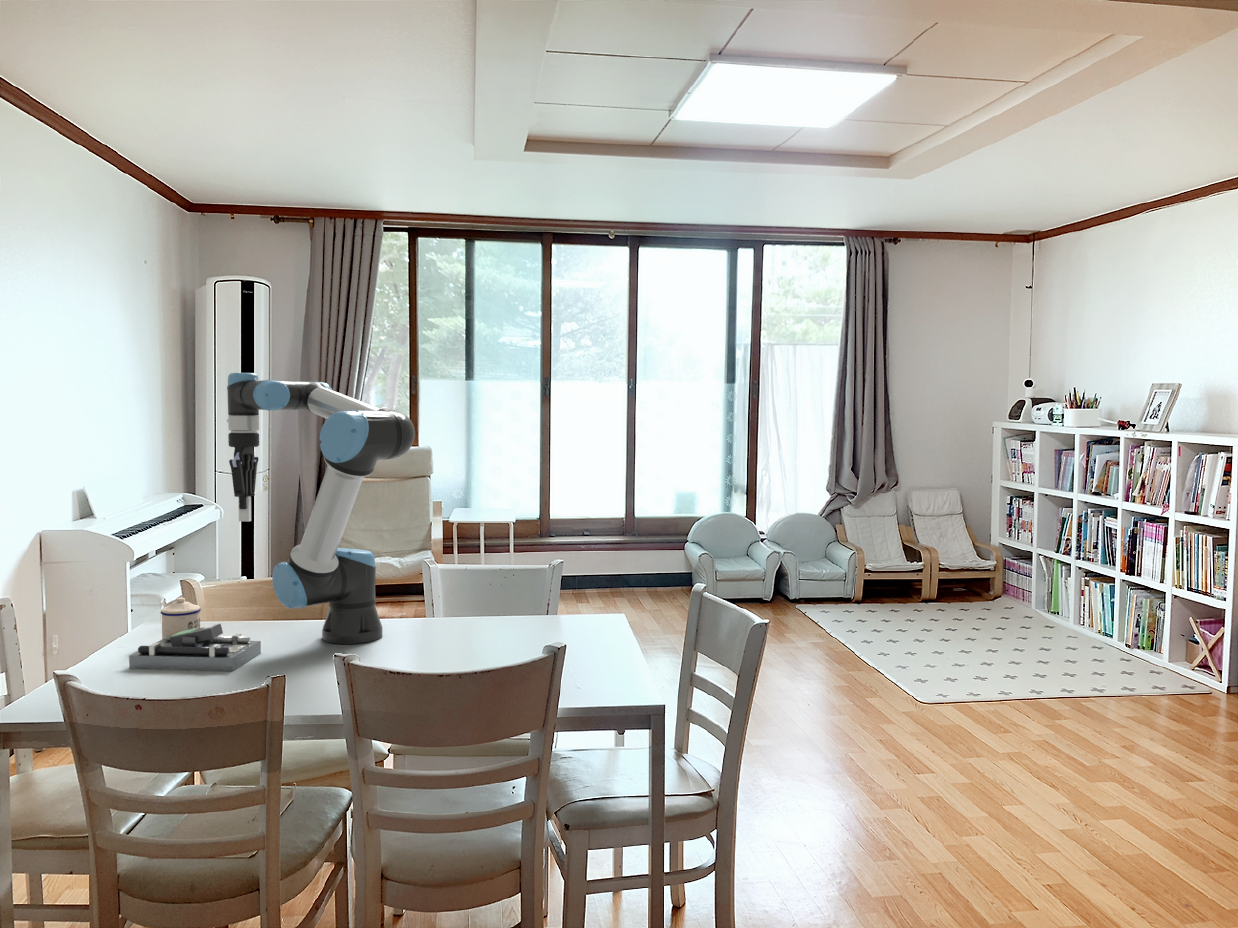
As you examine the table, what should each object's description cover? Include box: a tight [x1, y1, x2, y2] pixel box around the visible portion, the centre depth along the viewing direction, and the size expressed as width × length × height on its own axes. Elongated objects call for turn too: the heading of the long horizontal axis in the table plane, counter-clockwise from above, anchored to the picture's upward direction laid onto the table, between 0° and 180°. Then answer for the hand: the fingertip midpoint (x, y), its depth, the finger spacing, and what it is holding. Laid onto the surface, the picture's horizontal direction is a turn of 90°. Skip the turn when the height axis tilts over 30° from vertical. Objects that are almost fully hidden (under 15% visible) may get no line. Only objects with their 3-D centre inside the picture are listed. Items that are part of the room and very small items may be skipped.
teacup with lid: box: [160, 597, 202, 640], centre depth 235 cm, size 12×9×12 cm
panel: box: [128, 633, 262, 672], centre depth 220 cm, size 24×15×6 cm, turn 88°
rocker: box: [170, 623, 224, 646], centre depth 219 cm, size 10×5×3 cm, turn 88°
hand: (245, 520), depth 247 cm, fingers closed
